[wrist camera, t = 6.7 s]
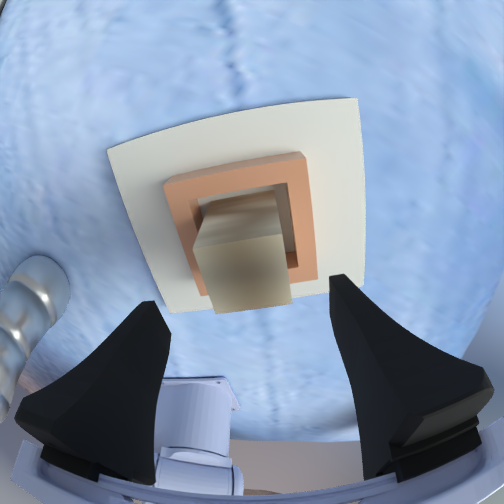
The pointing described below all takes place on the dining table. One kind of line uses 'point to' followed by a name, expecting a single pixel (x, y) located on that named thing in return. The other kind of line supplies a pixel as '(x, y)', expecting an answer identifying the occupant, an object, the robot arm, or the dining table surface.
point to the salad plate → (2, 5)
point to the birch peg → (243, 254)
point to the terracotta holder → (239, 178)
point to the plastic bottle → (27, 317)
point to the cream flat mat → (244, 148)
